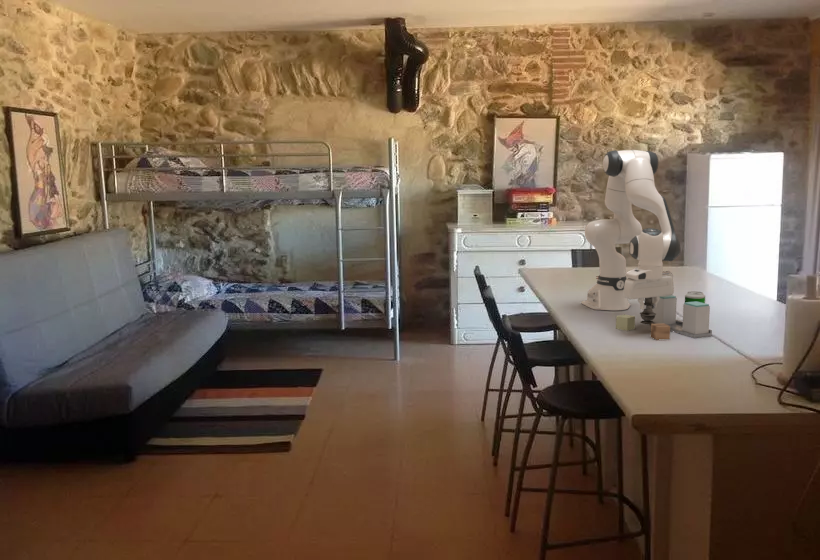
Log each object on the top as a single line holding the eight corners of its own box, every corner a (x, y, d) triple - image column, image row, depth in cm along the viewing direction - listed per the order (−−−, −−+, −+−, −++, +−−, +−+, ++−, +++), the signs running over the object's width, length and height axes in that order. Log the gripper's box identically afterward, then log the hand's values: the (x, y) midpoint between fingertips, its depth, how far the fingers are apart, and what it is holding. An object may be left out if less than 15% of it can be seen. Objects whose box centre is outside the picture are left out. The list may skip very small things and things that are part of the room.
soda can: (691, 325, 295) (692, 294, 294) (680, 321, 303) (681, 291, 301) (708, 323, 297) (709, 293, 296) (696, 319, 305) (697, 290, 303)
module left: (651, 321, 298) (652, 294, 297) (663, 319, 300) (664, 293, 299) (663, 324, 292) (663, 297, 290) (675, 323, 294) (676, 296, 292)
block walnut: (650, 337, 278) (651, 323, 277) (663, 336, 278) (664, 323, 277) (656, 340, 273) (656, 326, 272) (669, 339, 273) (670, 326, 272)
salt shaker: (652, 320, 288) (654, 290, 285) (657, 324, 282) (659, 293, 280) (637, 321, 288) (638, 290, 285) (642, 324, 282) (643, 293, 280)
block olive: (616, 328, 292) (616, 316, 291) (623, 326, 295) (623, 314, 294) (627, 331, 288) (627, 318, 287) (634, 328, 291) (635, 316, 290)
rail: (648, 323, 299) (648, 318, 298) (665, 322, 301) (665, 316, 301) (694, 338, 274) (694, 332, 274) (711, 335, 277) (711, 330, 277)
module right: (682, 330, 282) (683, 302, 280) (695, 328, 284) (696, 301, 282) (695, 334, 275) (696, 305, 273) (708, 332, 277) (709, 304, 275)
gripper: (667, 269, 287) (665, 304, 290) (622, 273, 281) (620, 309, 283) (678, 271, 282) (676, 308, 284) (632, 276, 275) (630, 313, 277)
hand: (648, 308), depth 284 cm, fingers closed on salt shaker, 3 cm apart
